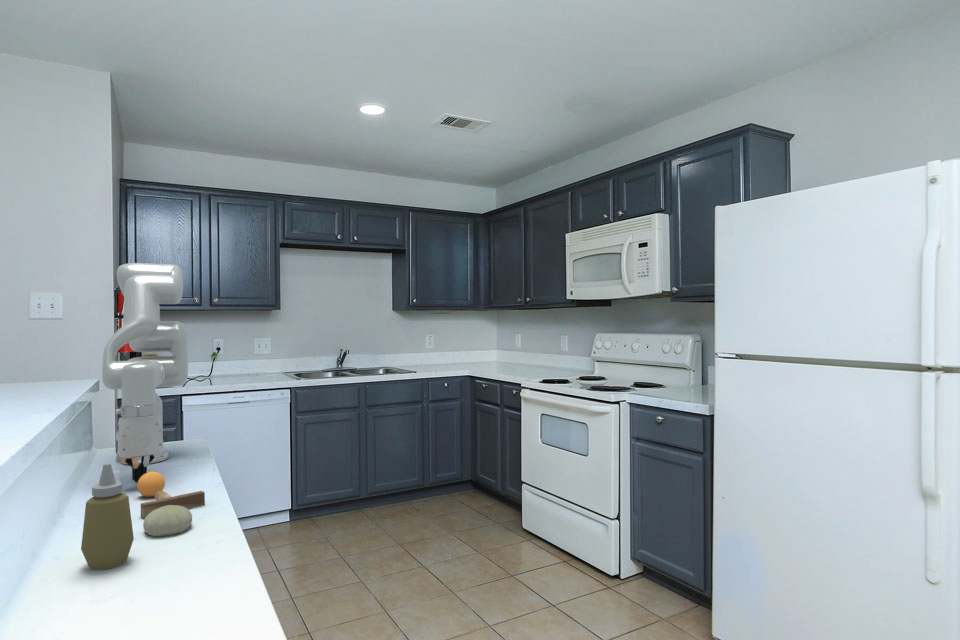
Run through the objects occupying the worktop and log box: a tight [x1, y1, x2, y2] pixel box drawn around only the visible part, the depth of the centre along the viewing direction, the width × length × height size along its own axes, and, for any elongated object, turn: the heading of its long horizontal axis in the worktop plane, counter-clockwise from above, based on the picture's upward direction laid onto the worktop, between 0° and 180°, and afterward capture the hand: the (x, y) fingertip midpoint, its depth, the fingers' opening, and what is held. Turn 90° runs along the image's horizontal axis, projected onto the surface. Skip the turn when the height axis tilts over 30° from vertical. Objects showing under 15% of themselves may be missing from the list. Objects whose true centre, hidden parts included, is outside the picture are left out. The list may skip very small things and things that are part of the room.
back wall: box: [140, 490, 206, 520], centre depth 135 cm, size 2×13×3 cm, turn 135°
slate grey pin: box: [112, 469, 121, 482], centre depth 137 cm, size 2×2×8 cm
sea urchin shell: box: [142, 505, 193, 538], centre depth 123 cm, size 9×8×8 cm
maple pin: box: [153, 490, 173, 500], centre depth 140 cm, size 2×2×8 cm
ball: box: [136, 471, 166, 498], centre depth 146 cm, size 6×6×6 cm
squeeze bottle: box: [80, 463, 135, 571], centre depth 107 cm, size 8×8×18 cm
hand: (139, 482), depth 153 cm, fingers closed
